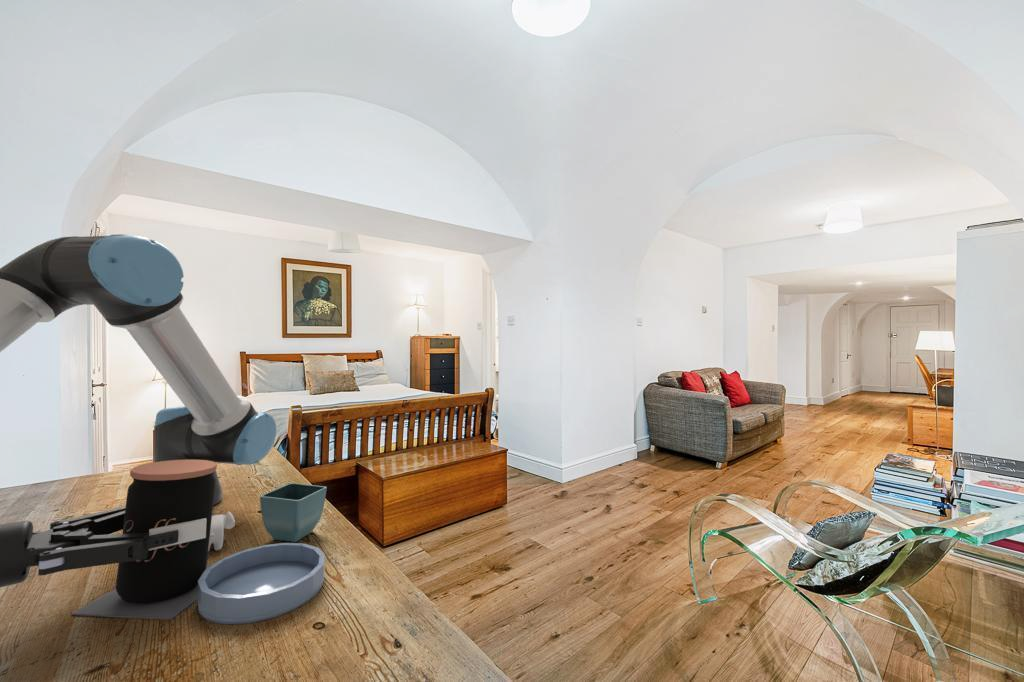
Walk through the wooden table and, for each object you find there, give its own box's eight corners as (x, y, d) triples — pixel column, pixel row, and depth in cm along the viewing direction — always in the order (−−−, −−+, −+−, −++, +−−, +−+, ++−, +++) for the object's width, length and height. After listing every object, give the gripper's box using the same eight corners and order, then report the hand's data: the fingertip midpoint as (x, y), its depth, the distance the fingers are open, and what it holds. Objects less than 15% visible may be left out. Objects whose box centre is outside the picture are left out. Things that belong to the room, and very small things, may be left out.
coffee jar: (93, 605, 59) (110, 472, 61) (151, 570, 70) (165, 458, 71) (174, 606, 60) (188, 475, 61) (220, 571, 71) (231, 460, 72)
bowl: (247, 561, 74) (247, 541, 74) (341, 565, 74) (342, 545, 74) (166, 621, 58) (168, 594, 58) (287, 627, 57) (288, 600, 57)
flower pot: (296, 549, 79) (299, 500, 80) (256, 543, 81) (258, 495, 82) (326, 530, 88) (328, 486, 88) (289, 525, 90) (290, 482, 90)
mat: (159, 564, 72) (159, 563, 72) (239, 568, 72) (239, 567, 72) (71, 615, 58) (71, 613, 58) (170, 620, 58) (171, 618, 58)
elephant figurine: (234, 535, 84) (235, 505, 85) (233, 551, 78) (235, 518, 78) (191, 542, 81) (193, 510, 81) (187, 560, 74) (189, 525, 74)
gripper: (-2, 555, 62) (189, 518, 77) (-45, 636, 45) (211, 568, 60) (2, 503, 62) (191, 476, 77) (-40, 563, 45) (213, 514, 60)
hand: (200, 516), depth 68 cm, fingers closed on coffee jar, 11 cm apart
